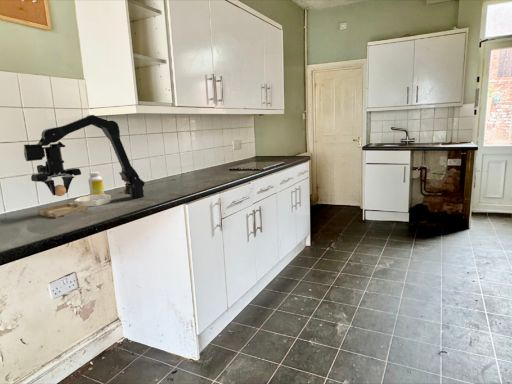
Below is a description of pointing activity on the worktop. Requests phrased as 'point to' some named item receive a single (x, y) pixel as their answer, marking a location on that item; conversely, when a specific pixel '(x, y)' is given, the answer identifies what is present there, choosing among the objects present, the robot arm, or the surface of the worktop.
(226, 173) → the worktop surface
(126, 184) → the pottery mug
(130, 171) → the robot arm
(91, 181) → the supplement bottle
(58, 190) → the ball
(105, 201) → the bowl
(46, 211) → the tray
